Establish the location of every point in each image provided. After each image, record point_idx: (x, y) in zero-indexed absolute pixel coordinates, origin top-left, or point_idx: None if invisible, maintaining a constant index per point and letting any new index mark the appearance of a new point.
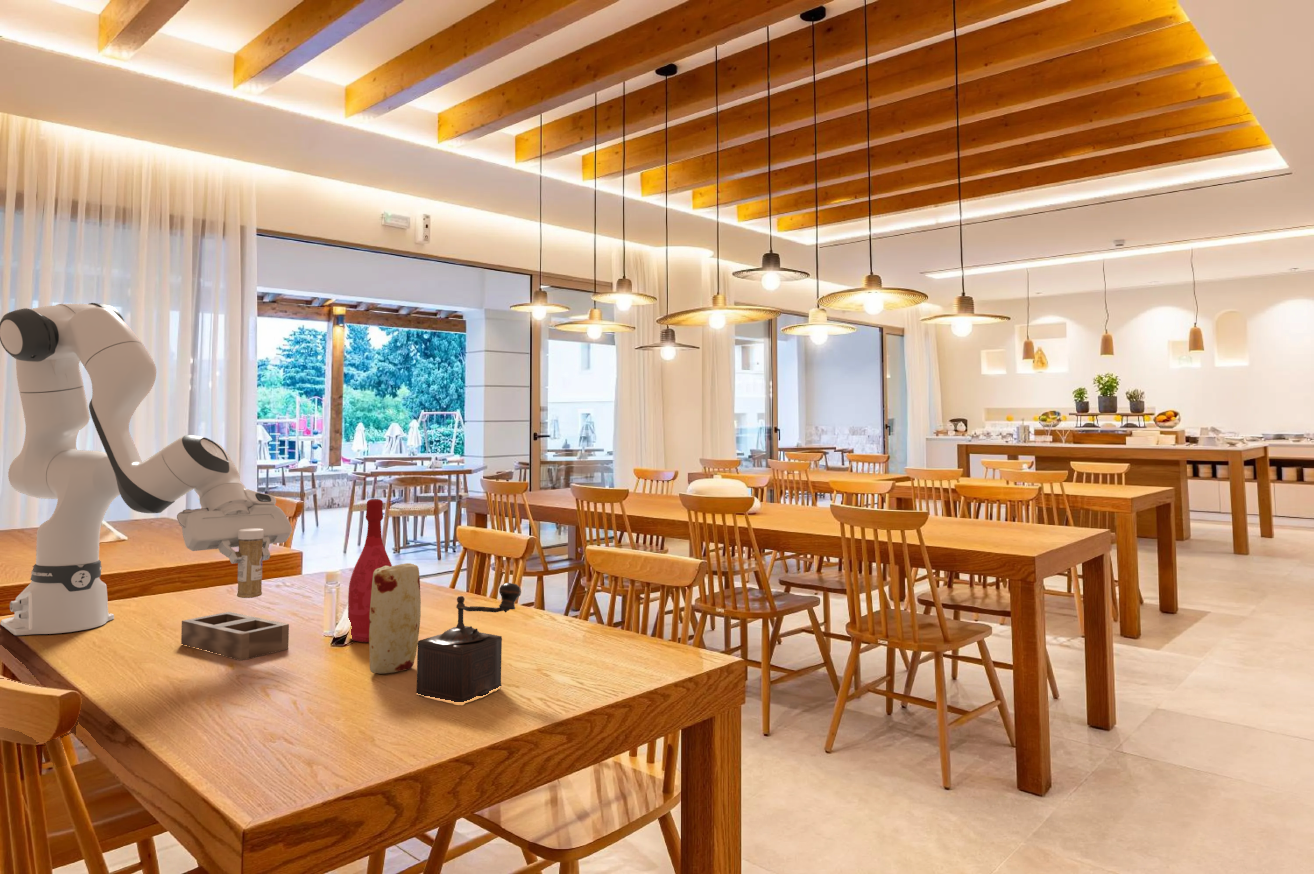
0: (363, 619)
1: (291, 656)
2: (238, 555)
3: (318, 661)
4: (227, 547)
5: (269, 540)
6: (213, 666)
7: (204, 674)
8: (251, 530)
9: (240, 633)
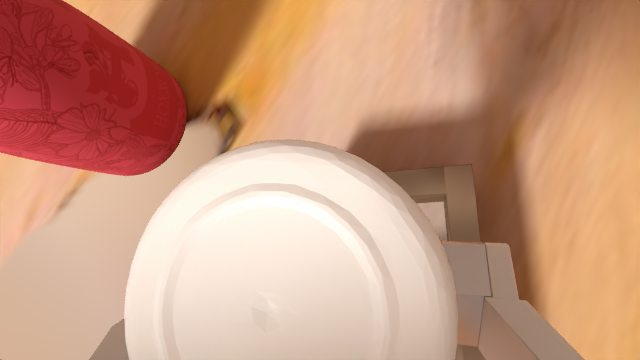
0: (148, 64)
1: (357, 114)
2: (467, 257)
3: (343, 24)
4: (566, 348)
5: (113, 332)
6: (547, 181)
7: (604, 124)
8: (342, 170)
9: (467, 181)
